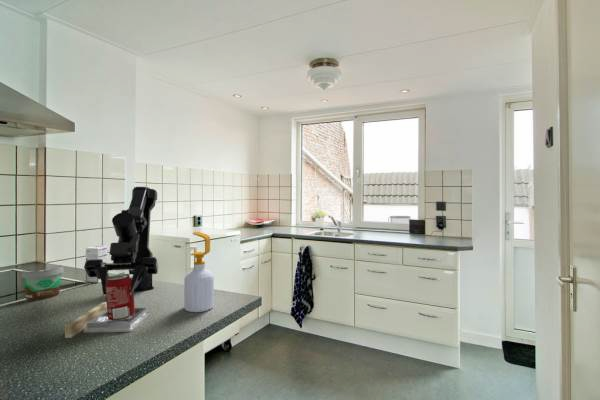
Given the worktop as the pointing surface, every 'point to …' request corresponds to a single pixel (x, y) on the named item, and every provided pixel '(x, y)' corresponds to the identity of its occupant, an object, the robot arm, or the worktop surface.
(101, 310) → the oak threshold
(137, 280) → the robot arm
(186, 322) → the worktop surface
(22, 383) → the worktop surface
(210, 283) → the soap bottle
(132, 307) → the soda can
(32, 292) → the food container
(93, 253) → the syrup box
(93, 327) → the tray
